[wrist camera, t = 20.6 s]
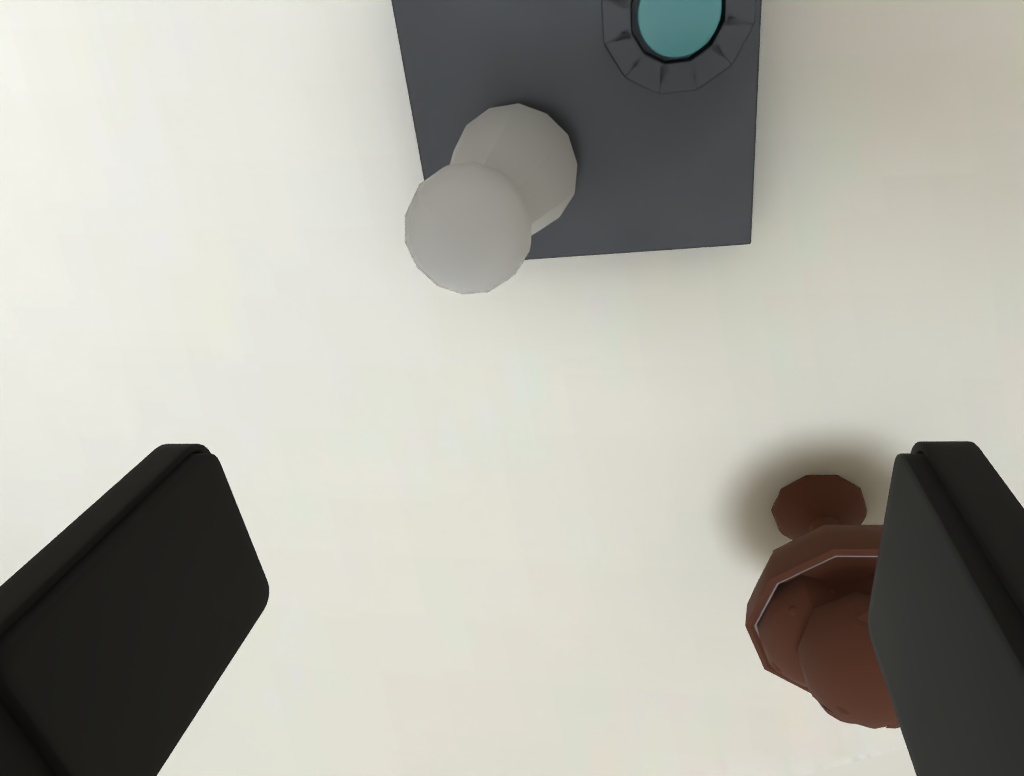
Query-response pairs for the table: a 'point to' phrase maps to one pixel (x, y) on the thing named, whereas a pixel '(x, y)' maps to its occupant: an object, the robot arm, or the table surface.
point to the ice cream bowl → (822, 601)
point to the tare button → (678, 24)
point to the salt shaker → (491, 199)
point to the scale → (599, 112)
